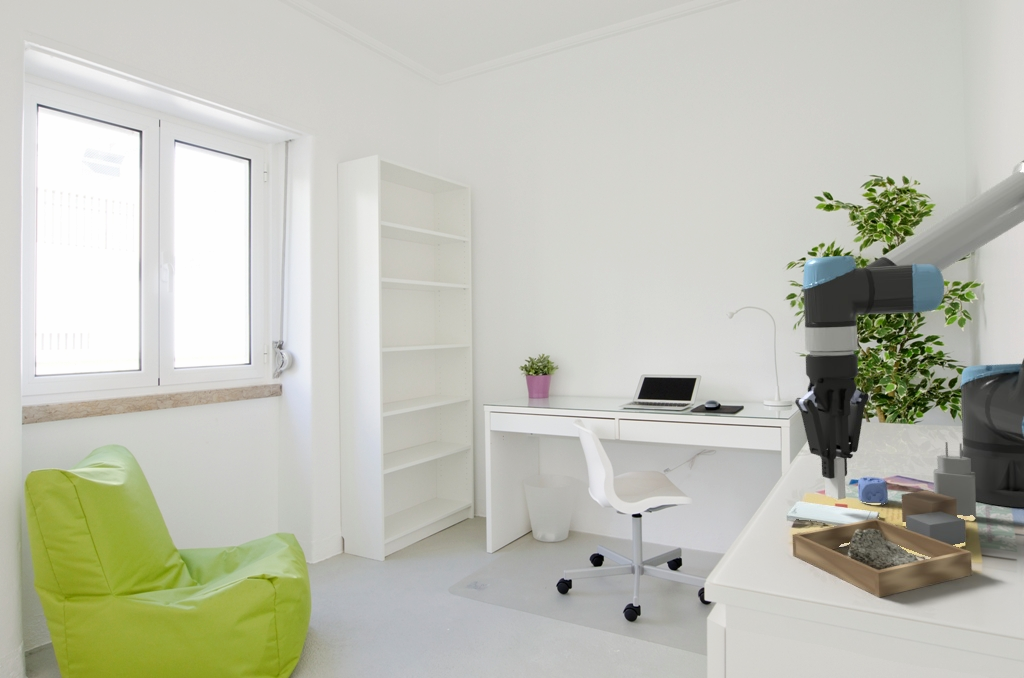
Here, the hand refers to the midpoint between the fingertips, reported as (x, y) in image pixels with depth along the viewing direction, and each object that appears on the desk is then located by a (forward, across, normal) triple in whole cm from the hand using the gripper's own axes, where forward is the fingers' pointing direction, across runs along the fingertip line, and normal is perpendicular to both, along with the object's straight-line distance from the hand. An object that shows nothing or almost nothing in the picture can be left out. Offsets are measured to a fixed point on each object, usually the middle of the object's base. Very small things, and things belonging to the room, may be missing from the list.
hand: (835, 496), depth 102 cm
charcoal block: (+4, -4, +14) cm, 15 cm away
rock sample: (+4, +9, +18) cm, 21 cm away
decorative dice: (+4, -12, -4) cm, 13 cm away
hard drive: (+5, 0, 0) cm, 5 cm away
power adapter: (+4, -17, +7) cm, 19 cm away
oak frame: (+4, +9, +16) cm, 19 cm away
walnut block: (+4, -9, +9) cm, 13 cm away
